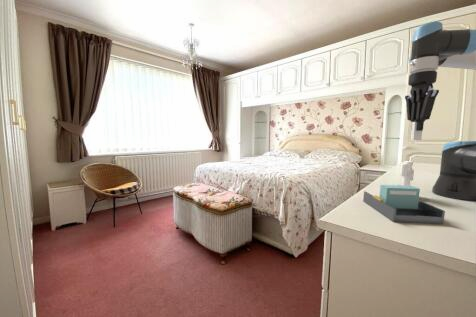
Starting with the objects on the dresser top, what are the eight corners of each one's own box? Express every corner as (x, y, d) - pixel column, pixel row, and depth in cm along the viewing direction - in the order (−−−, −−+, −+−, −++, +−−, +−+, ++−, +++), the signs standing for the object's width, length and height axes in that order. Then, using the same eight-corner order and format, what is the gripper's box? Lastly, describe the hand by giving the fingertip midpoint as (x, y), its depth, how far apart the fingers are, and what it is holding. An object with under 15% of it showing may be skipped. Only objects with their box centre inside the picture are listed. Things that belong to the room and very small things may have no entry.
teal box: (408, 208, 75) (411, 185, 74) (417, 212, 71) (420, 189, 70) (378, 206, 76) (380, 184, 75) (385, 211, 72) (387, 187, 71)
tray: (401, 202, 82) (402, 191, 82) (443, 224, 64) (445, 209, 63) (362, 201, 84) (363, 189, 83) (392, 221, 65) (393, 207, 64)
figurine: (418, 196, 91) (423, 161, 89) (411, 200, 85) (415, 163, 83) (398, 192, 97) (402, 159, 95) (390, 195, 91) (393, 160, 89)
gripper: (399, 77, 82) (393, 139, 85) (425, 67, 69) (417, 140, 72) (420, 76, 81) (414, 139, 84) (451, 66, 68) (442, 140, 71)
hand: (415, 139), depth 78 cm, fingers closed
